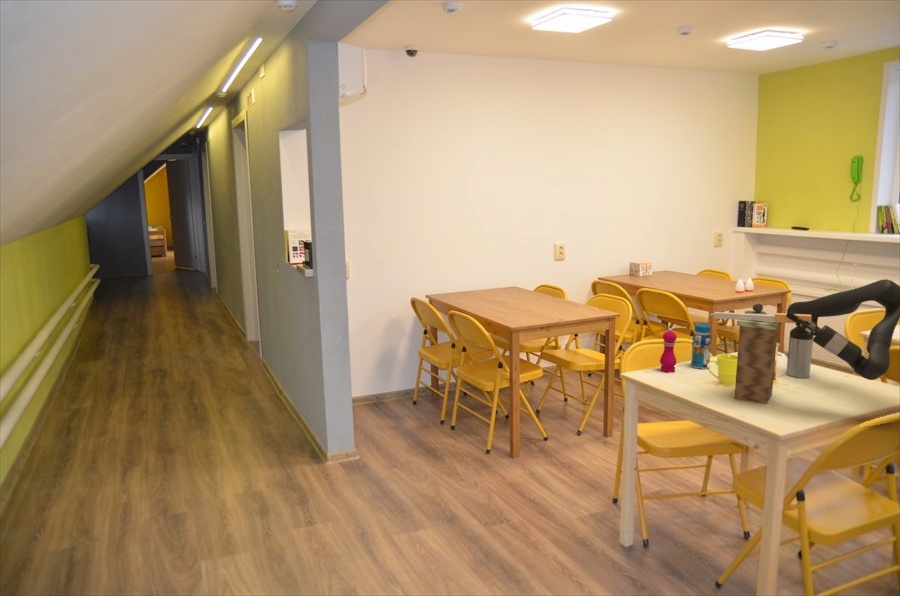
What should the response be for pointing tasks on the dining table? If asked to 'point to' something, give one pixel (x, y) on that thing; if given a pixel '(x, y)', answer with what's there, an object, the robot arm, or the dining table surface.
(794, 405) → the dining table surface
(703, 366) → the blue snack canister
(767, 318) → the knife
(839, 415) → the dining table surface
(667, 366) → the pepper mill
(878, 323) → the robot arm
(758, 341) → the brown zigzag canister
